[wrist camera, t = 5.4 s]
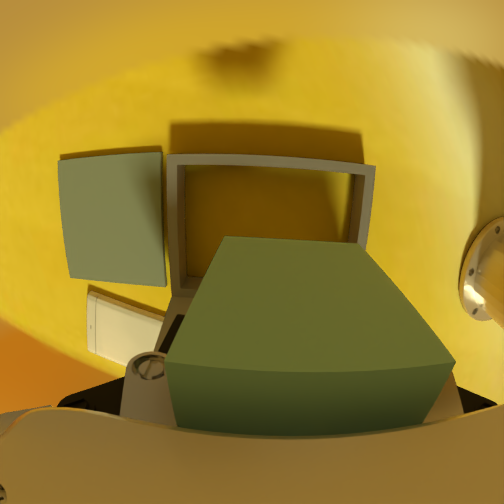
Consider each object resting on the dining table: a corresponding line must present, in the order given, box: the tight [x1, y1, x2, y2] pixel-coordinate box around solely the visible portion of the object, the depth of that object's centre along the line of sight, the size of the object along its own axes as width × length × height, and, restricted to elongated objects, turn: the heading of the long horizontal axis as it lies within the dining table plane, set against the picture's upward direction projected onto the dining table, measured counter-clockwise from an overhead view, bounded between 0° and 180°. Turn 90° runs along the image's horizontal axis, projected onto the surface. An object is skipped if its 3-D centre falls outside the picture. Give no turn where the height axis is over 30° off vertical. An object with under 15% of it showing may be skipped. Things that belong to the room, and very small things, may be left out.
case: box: [167, 154, 376, 298], centre depth 23 cm, size 16×12×2 cm
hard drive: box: [87, 290, 165, 367], centre depth 29 cm, size 2×8×12 cm
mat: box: [58, 152, 167, 287], centre depth 25 cm, size 11×12×1 cm
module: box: [164, 236, 456, 436], centre depth 8 cm, size 5×6×7 cm
